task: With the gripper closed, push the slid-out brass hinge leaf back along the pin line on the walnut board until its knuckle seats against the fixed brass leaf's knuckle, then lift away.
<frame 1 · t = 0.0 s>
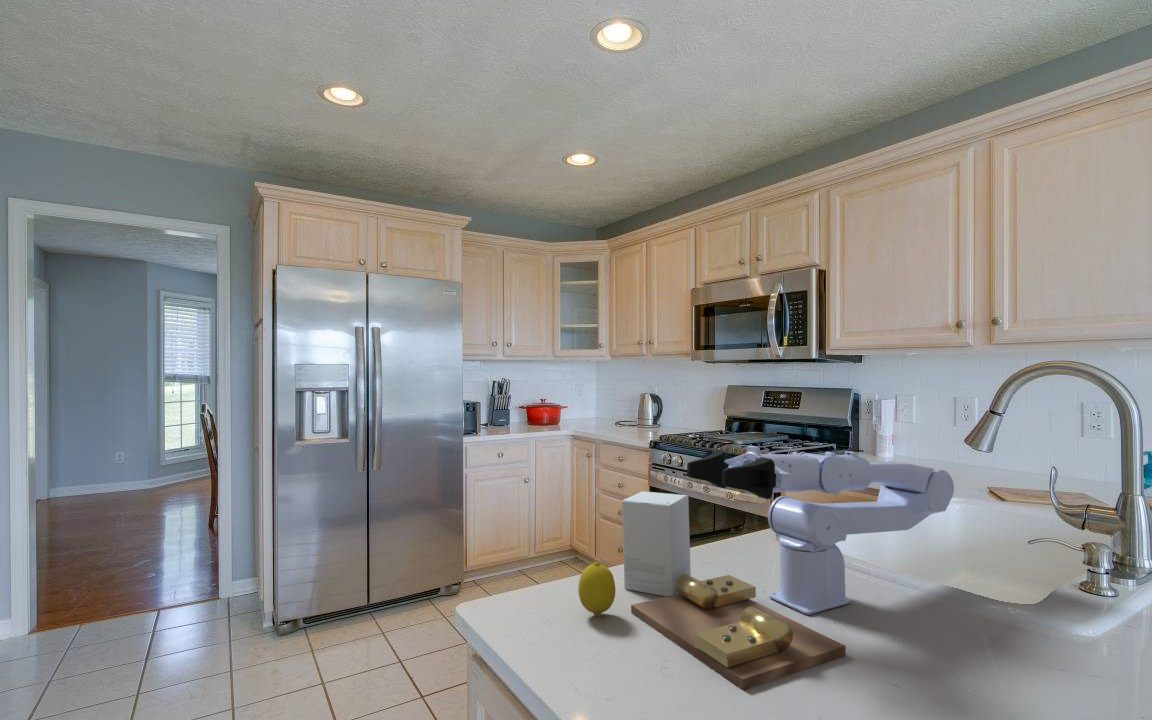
hand: (705, 473, 82), 22 cm above the countertop, tool horizontal, fingers open, 7 cm apart
walnut board: (719, 624, 82), on the countertop
fixed leaf: (712, 585, 89), on the walnut board, point 3 cm above the countertop
lemon: (597, 617, 86), on the countertop
supplement box: (658, 586, 98), on the countertop
brass leaf: (743, 634, 73), point 3 cm above the countertop, slide at 8.0 cm
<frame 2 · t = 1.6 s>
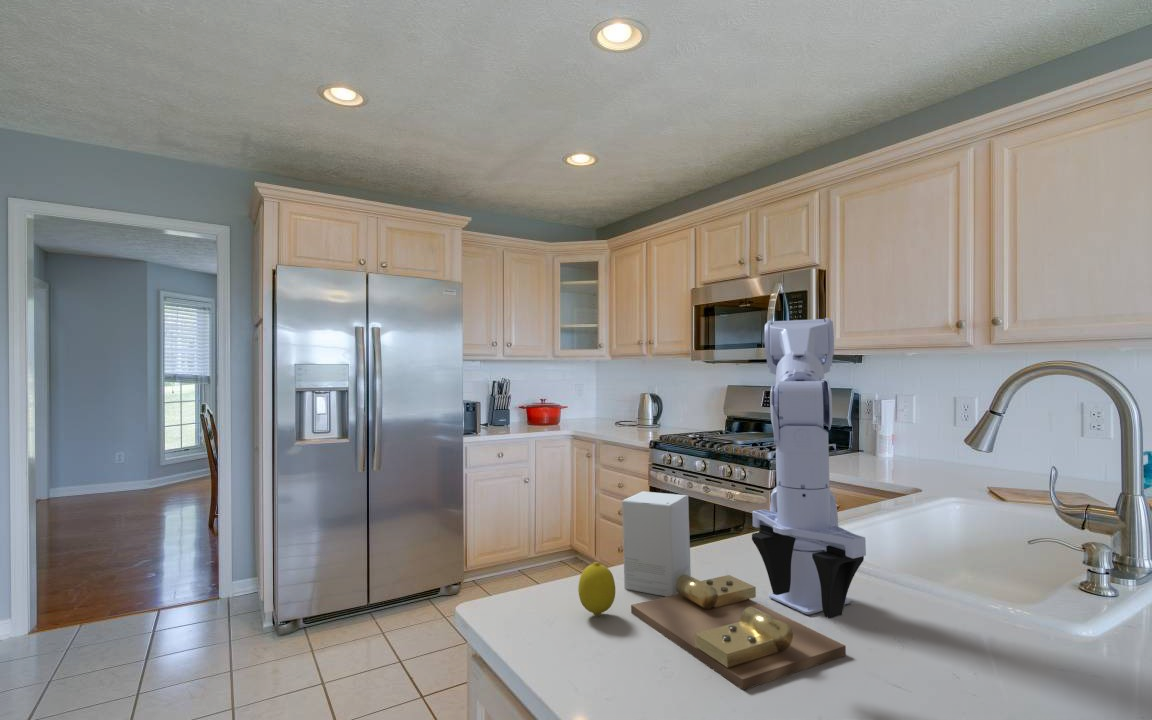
hand: (805, 603, 66), 9 cm above the countertop, tool pointing down, fingers open, 7 cm apart
nothing on the countertop moved.
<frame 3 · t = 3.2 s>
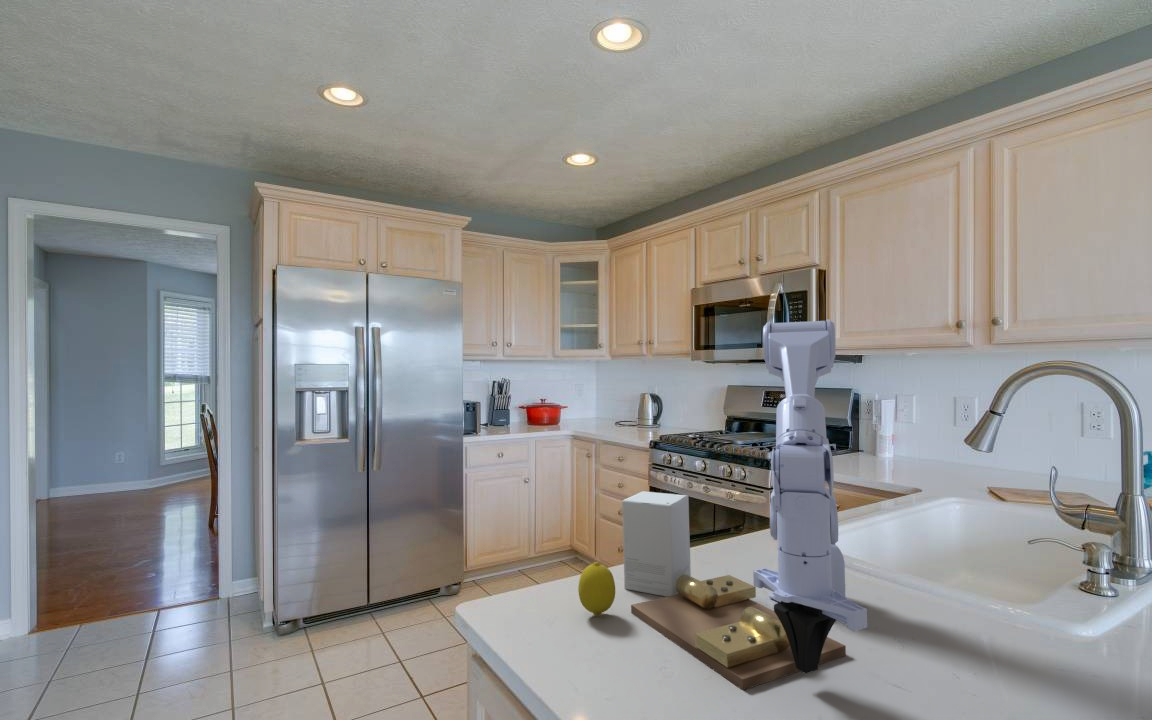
hand: (807, 668, 66), 2 cm above the countertop, tool pointing down, fingers closed
nothing on the countertop moved.
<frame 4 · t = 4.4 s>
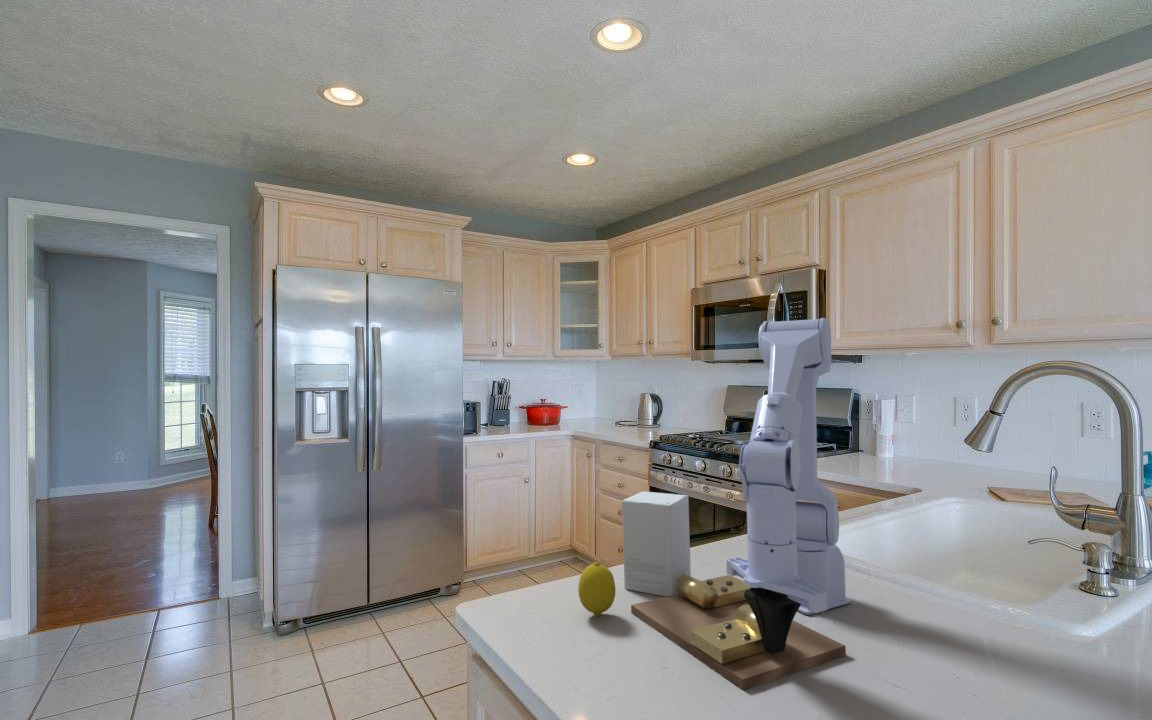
hand: (774, 650, 70), 2 cm above the countertop, tool pointing down, fingers closed
brass leaf: (738, 631, 74), point 3 cm above the countertop, slide at 7.1 cm, touching gripper
everything else where it was.
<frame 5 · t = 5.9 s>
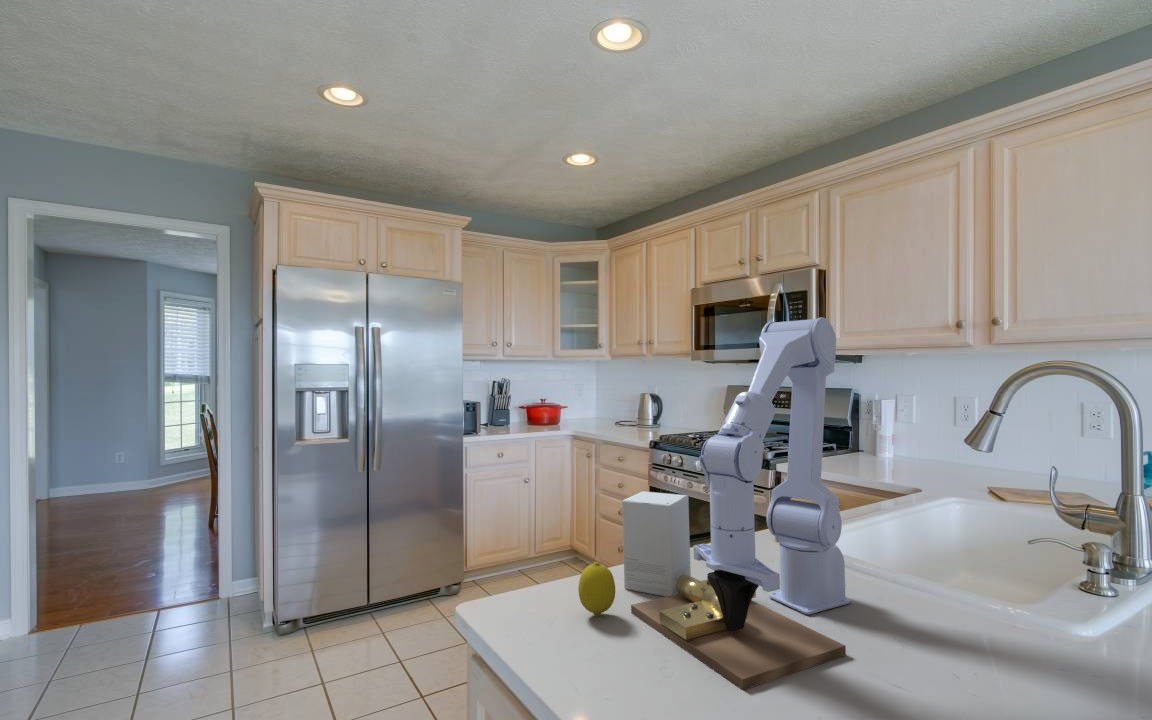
hand: (734, 628, 77), 2 cm above the countertop, tool pointing down, fingers closed
brass leaf: (703, 611, 80), point 3 cm above the countertop, slide at 0.0 cm, touching gripper
everything else where it was.
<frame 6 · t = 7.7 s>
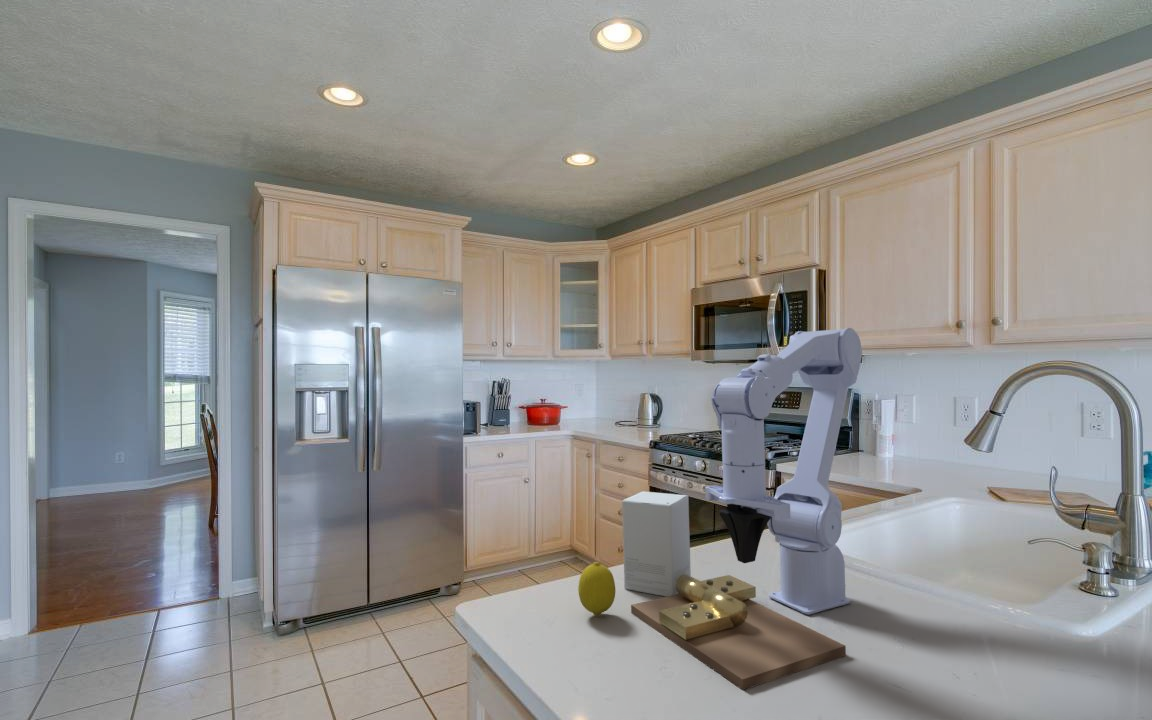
hand: (746, 560, 80), 10 cm above the countertop, tool pointing down, fingers closed
brass leaf: (703, 610, 80), point 3 cm above the countertop, slide at 0.0 cm
everything else where it was.
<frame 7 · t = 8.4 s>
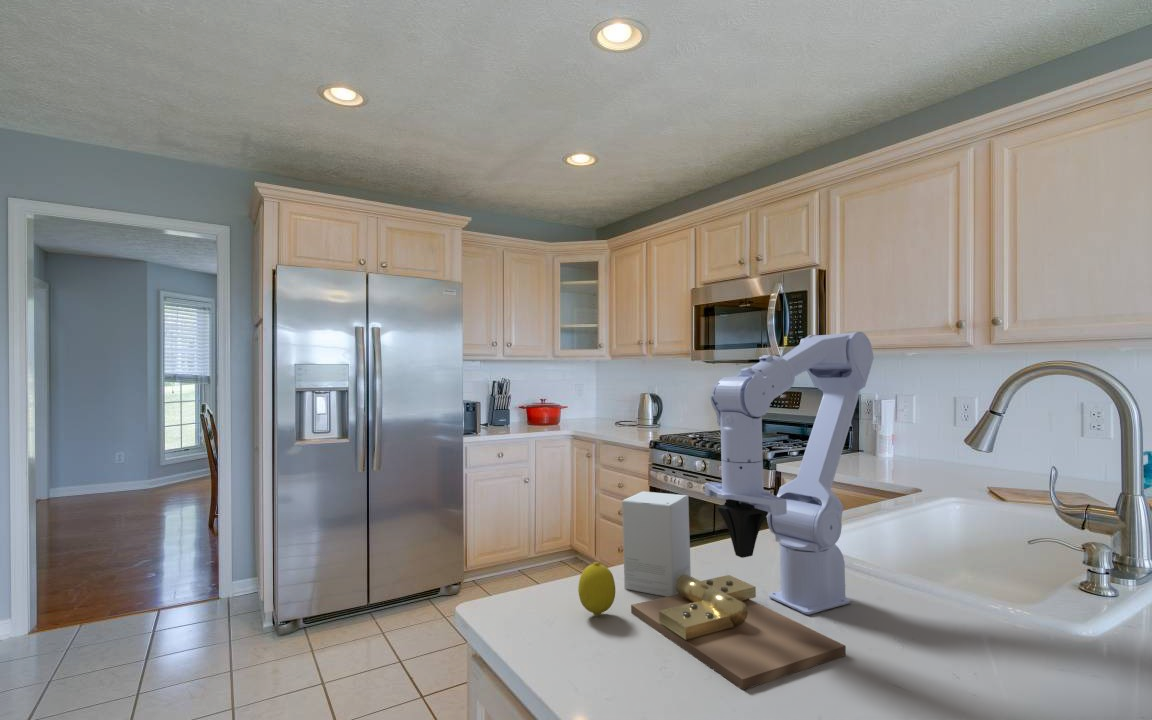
hand: (744, 555, 82), 10 cm above the countertop, tool pointing down, fingers closed
nothing on the countertop moved.
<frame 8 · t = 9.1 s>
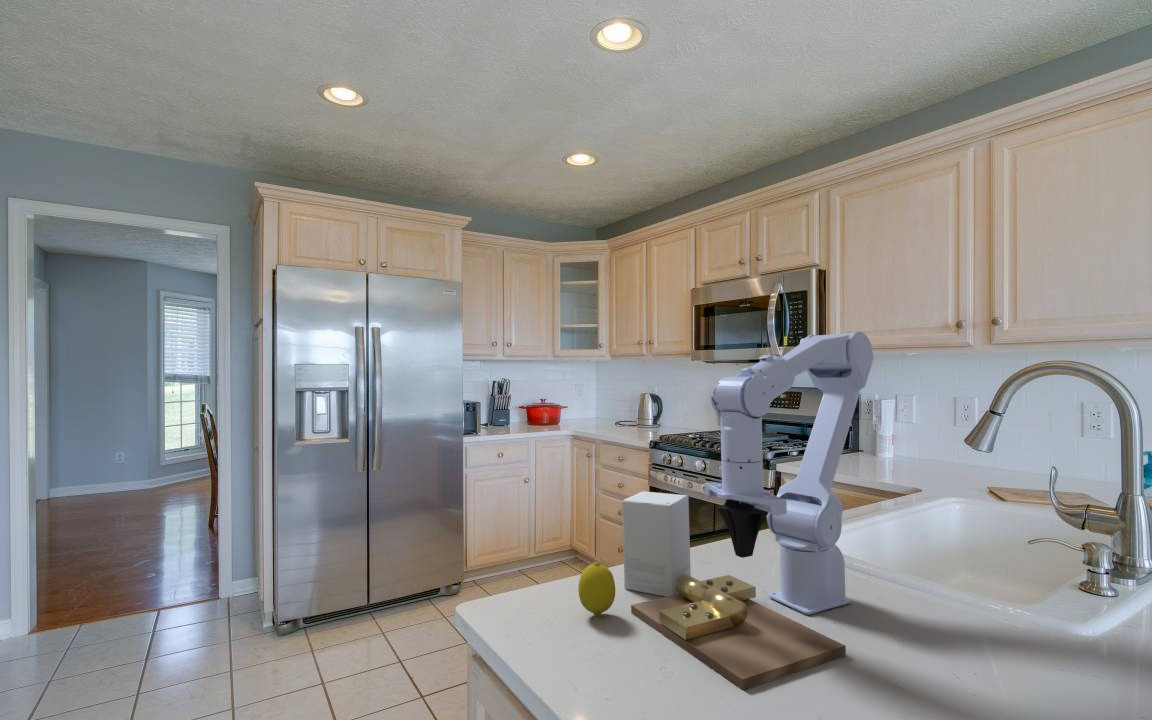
hand: (744, 555, 82), 10 cm above the countertop, tool pointing down, fingers closed
nothing on the countertop moved.
at the end: brass leaf slide at 0.0 cm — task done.
